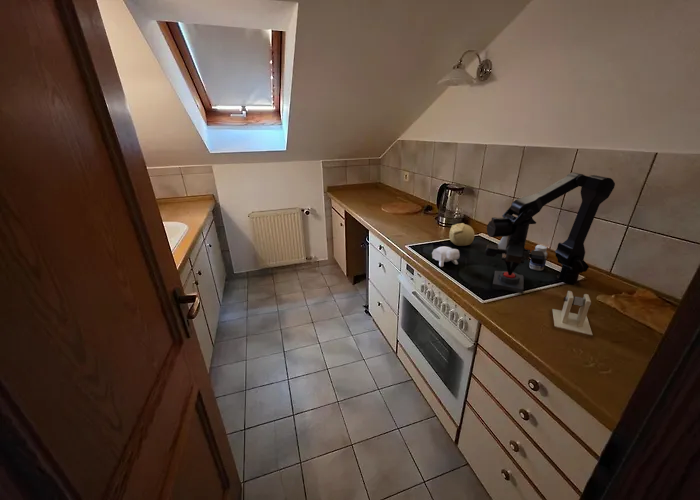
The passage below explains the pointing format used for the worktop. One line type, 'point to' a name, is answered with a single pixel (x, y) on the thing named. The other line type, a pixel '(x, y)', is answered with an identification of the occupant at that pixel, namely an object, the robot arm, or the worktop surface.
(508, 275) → the button
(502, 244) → the flask
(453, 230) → the sculpture
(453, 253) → the white animal figurine
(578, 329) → the beige u-shaped holder
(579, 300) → the lever
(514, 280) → the button housing
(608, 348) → the worktop surface
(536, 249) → the pill bottle
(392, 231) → the worktop surface
